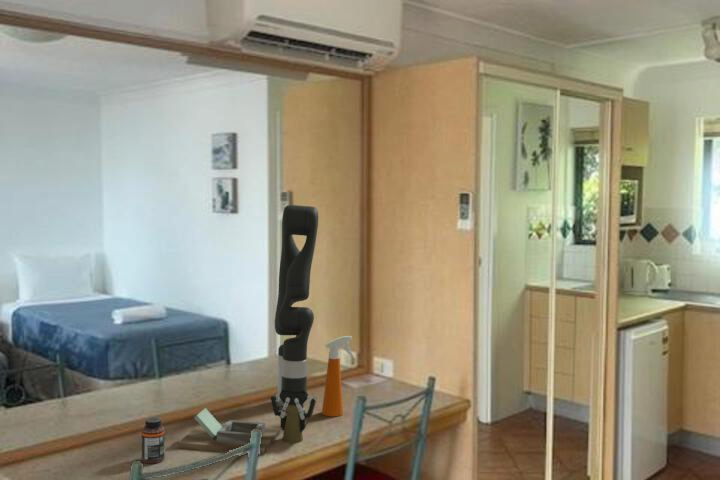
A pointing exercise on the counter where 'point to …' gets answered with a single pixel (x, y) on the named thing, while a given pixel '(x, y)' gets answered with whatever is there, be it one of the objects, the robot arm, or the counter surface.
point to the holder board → (229, 437)
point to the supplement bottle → (153, 441)
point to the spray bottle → (334, 378)
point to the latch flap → (208, 423)
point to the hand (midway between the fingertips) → (292, 429)
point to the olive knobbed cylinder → (292, 425)
